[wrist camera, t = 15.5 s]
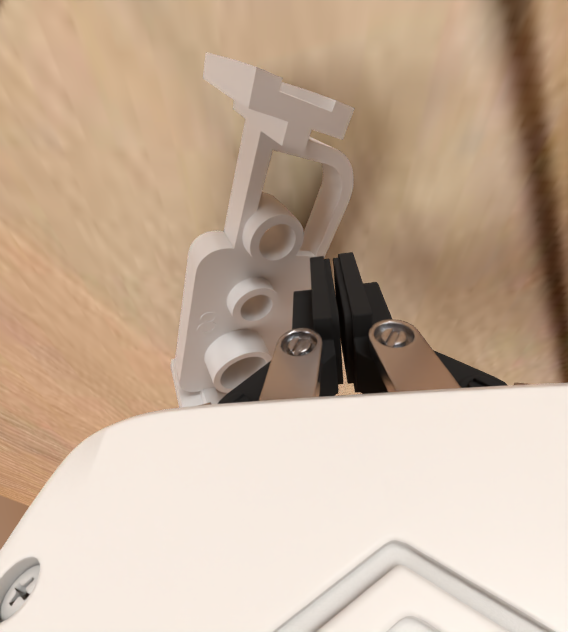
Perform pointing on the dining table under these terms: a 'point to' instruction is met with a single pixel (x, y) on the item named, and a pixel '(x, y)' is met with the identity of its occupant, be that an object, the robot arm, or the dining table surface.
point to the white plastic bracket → (257, 235)
